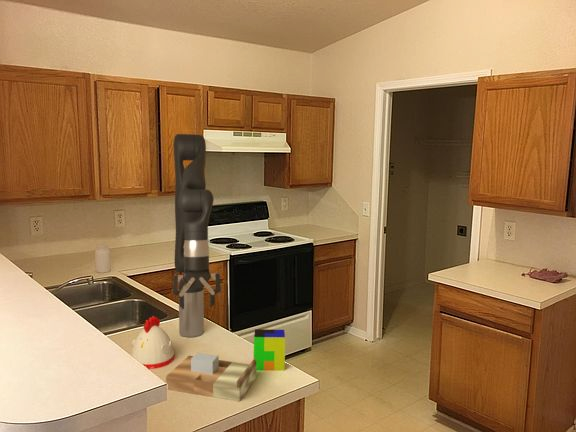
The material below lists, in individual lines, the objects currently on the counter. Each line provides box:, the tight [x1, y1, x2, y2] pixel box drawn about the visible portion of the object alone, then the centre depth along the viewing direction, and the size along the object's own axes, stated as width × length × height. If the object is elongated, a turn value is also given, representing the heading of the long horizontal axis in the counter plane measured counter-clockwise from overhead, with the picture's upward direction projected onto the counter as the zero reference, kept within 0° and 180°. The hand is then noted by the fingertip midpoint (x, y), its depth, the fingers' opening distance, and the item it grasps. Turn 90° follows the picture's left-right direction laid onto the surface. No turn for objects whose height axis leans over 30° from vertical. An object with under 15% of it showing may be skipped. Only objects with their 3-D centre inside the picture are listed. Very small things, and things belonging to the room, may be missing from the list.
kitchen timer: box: [130, 315, 175, 370], centre depth 160 cm, size 14×14×15 cm
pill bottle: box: [94, 243, 112, 274], centre depth 268 cm, size 8×8×15 cm
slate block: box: [191, 352, 220, 375], centre depth 146 cm, size 4×7×4 cm, turn 75°
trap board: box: [165, 355, 257, 402], centre depth 146 cm, size 15×23×6 cm, turn 75°
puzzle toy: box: [253, 328, 286, 372], centre depth 160 cm, size 10×10×10 cm
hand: (197, 307), depth 147 cm, fingers open, 8 cm apart
